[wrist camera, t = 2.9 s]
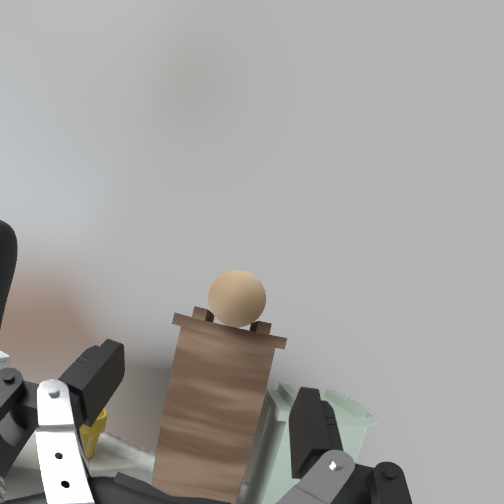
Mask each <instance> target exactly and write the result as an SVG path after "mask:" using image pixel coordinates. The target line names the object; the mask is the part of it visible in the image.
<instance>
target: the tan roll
mask: <svg viewBox="0 0 504 504" xmlns="http://www.w3.org/2000/svg"><path fill="white" fill-rule="evenodd" d="M208 301H209V306H210V309H211V311H212V313H213V315H214V316H215V317H216V318H217V319H218V320H219V321H220V322H222V323H224V324H225V325H227V326H230V327H234V328H238V327H242V326H246V325H249V324H251V323H253V322H254V321H255V320H256V319H258V318H259V316H260V315H261V314H262V312H263V310H264V307H265V303H266V294H265V290H264V287H263V285H262V283H261V282H260V281H259V280H258V279H257V278H256V277H255V276H254V275H252V274H251V273H249V272H246V271H242V270H232V271H228V272H225V273H223V274H222V275H220V276H219V277H218V278H217V279H216V280H215V281H214V282H213V284H212V285H211V288H210V290H209V297H208Z"/></svg>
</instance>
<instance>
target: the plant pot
mask: <svg viewBox="0 0 504 504" xmlns="http://www.w3.org/2000/svg"><path fill="white" fill-rule="evenodd" d="M106 419H107V412H106V410H105V409H103V410H102V412H101V413H100V415H99V416H98V418H97V419H96V421H95V422H94V424H93V425H92V427H88V426H86V425H84V424H82V426H81V427H80V429H79V430H80V433H81V438H82V442H83V446H84V450H85V453H86V457H87V459H88V458H90V457H91V456H92V454H93V452H94V449H95V446H96V443H97V440H98V438H99V435H100V434H101V433H102V432H103V431H104V430H105V426H106Z"/></svg>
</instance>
